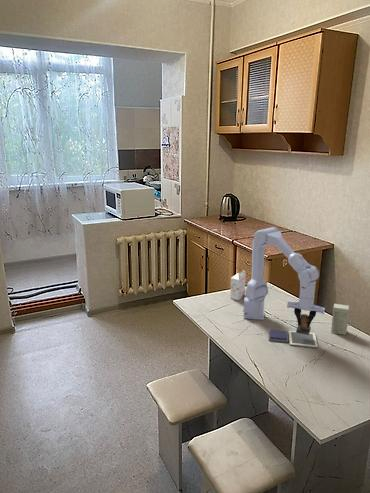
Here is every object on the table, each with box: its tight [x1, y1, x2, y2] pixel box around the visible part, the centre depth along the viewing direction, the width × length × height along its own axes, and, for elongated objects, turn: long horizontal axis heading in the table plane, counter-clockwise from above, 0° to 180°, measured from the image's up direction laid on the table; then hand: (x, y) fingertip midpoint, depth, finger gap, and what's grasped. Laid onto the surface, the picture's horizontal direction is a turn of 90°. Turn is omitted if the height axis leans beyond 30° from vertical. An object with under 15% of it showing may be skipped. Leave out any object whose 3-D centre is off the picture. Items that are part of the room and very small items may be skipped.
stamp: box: [295, 313, 312, 335], centre depth 154 cm, size 5×5×7 cm
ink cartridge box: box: [230, 269, 247, 301], centre depth 196 cm, size 9×5×15 cm, turn 148°
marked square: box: [287, 330, 319, 349], centre depth 156 cm, size 11×11×1 cm
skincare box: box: [330, 303, 350, 336], centre depth 161 cm, size 6×4×12 cm
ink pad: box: [267, 329, 289, 344], centre depth 158 cm, size 8×7×2 cm
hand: (303, 325), depth 155 cm, fingers closed on stamp, 3 cm apart
